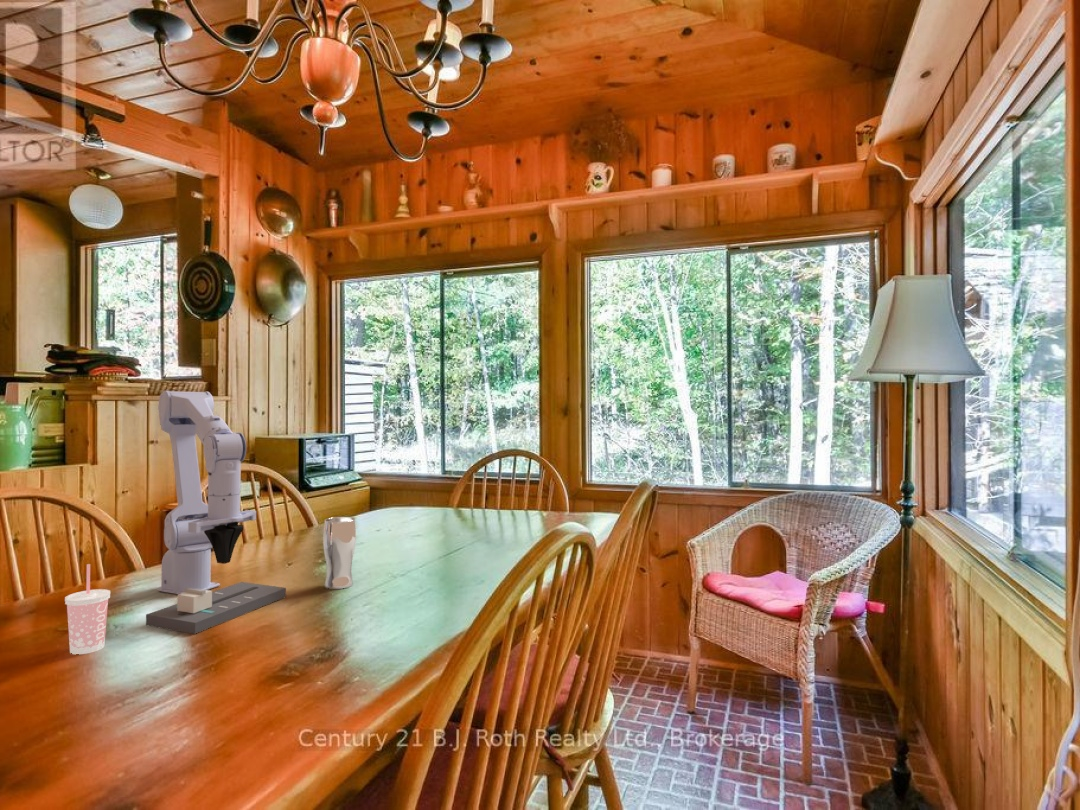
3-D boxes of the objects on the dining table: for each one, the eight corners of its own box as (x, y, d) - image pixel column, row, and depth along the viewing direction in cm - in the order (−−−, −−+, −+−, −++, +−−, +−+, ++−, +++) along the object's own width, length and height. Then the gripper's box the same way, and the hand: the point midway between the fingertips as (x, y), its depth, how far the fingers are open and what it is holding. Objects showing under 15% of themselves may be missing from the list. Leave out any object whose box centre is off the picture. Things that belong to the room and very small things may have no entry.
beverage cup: (80, 658, 95) (81, 571, 95) (54, 653, 98) (55, 567, 98) (118, 644, 101) (119, 561, 101) (94, 639, 103) (95, 558, 103)
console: (146, 625, 110) (146, 613, 110) (241, 590, 131) (241, 581, 131) (195, 634, 106) (195, 622, 106) (285, 597, 127) (285, 587, 127)
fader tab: (176, 610, 112) (176, 591, 112) (195, 604, 115) (195, 585, 115) (194, 613, 110) (194, 594, 110) (212, 606, 114) (212, 587, 114)
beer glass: (345, 591, 132) (345, 522, 132) (316, 588, 133) (317, 521, 133) (360, 582, 138) (361, 517, 138) (333, 580, 140) (334, 515, 140)
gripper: (208, 500, 111) (207, 574, 111) (268, 490, 125) (267, 555, 125) (180, 498, 113) (179, 570, 113) (241, 488, 127) (240, 552, 127)
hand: (223, 562), depth 119 cm, fingers closed
